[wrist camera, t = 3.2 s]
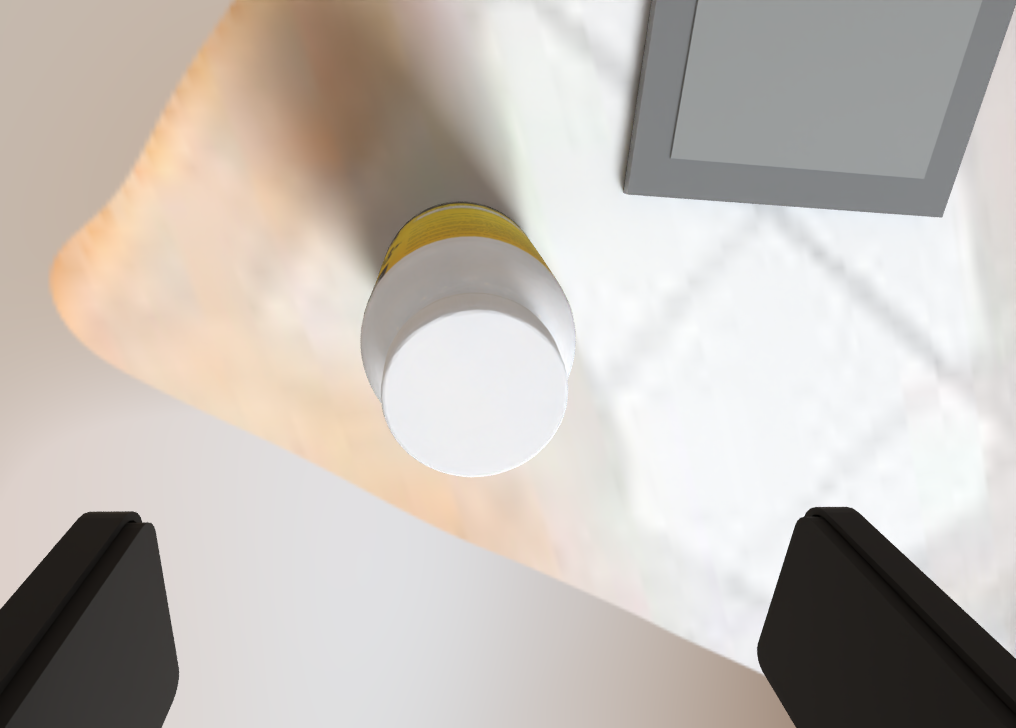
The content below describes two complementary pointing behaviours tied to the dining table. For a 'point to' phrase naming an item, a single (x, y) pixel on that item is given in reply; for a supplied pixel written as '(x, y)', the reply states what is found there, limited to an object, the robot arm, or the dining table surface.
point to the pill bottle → (468, 342)
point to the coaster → (812, 100)
